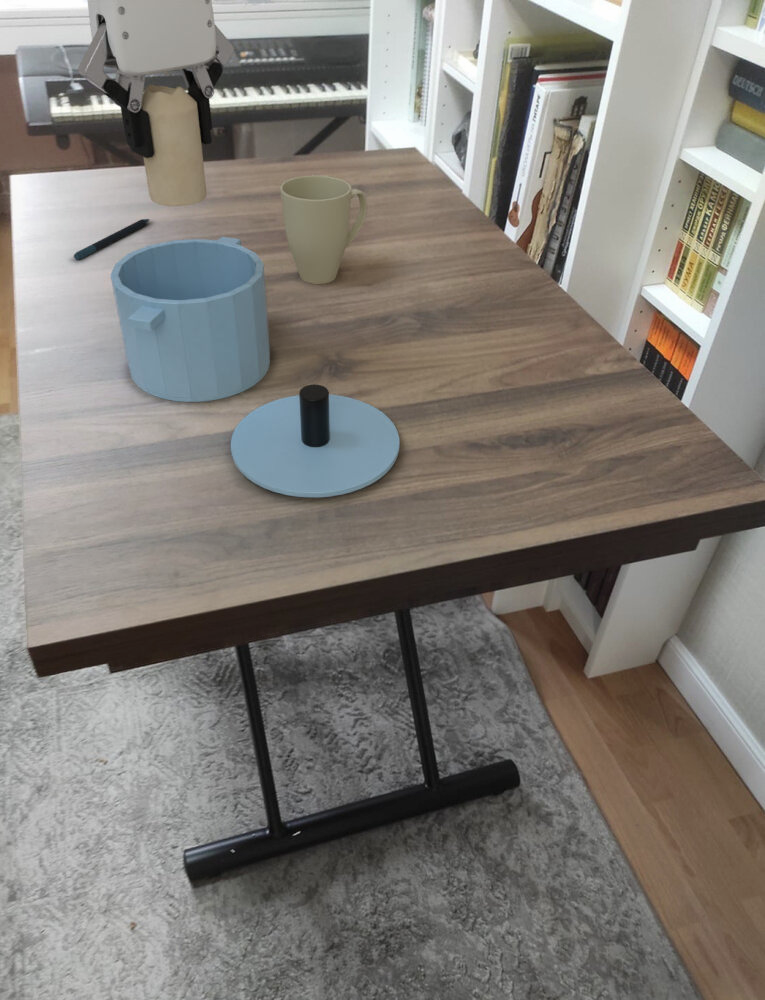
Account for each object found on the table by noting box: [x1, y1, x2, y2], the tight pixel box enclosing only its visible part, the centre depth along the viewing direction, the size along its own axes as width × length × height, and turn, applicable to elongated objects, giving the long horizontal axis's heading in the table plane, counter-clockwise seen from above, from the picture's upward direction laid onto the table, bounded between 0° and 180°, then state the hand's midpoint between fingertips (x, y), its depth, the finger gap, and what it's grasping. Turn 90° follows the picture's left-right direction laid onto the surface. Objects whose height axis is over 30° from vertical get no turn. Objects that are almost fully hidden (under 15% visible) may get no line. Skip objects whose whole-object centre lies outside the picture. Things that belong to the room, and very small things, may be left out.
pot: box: [110, 236, 271, 403], centre depth 91 cm, size 16×21×12 cm
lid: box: [230, 383, 401, 498], centre depth 81 cm, size 17×17×7 cm
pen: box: [73, 218, 150, 261], centre depth 120 cm, size 1×16×1 cm, turn 153°
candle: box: [141, 84, 207, 207], centre depth 79 cm, size 6×6×10 cm
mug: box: [279, 174, 368, 285], centre depth 110 cm, size 11×10×12 cm
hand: (171, 145), depth 79 cm, fingers closed on candle, 5 cm apart
